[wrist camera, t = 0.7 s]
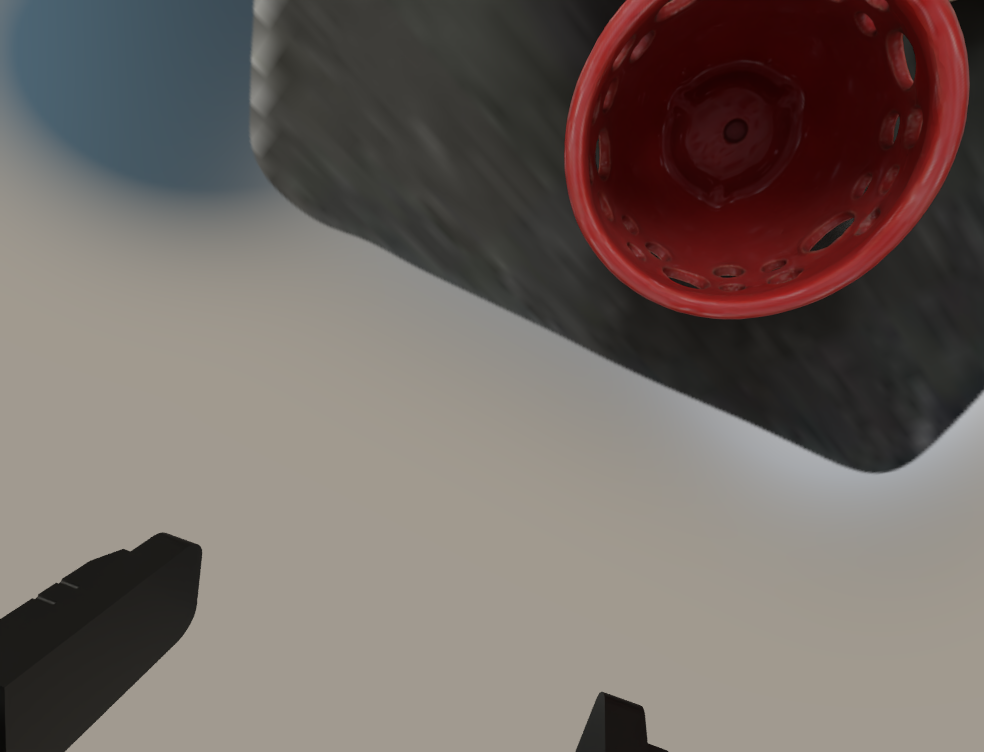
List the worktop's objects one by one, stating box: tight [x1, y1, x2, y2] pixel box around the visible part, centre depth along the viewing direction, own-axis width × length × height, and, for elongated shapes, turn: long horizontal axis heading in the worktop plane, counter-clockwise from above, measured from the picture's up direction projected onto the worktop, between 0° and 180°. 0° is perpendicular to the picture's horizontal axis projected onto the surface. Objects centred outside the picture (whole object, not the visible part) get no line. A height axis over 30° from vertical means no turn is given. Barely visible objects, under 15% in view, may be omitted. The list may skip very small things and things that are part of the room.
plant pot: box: [564, 0, 970, 319], centre depth 24 cm, size 13×13×12 cm
